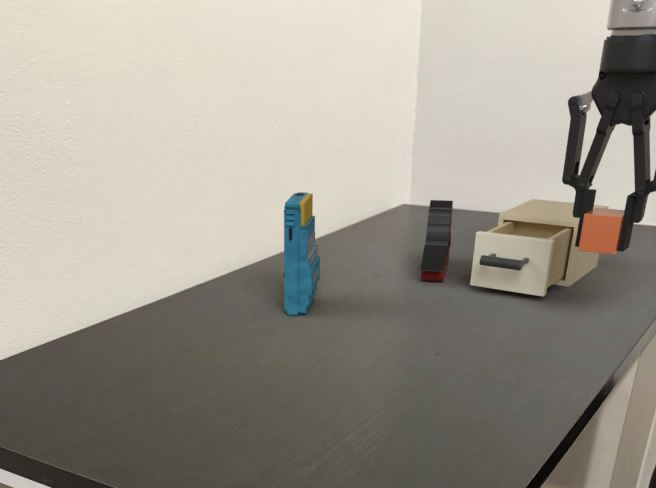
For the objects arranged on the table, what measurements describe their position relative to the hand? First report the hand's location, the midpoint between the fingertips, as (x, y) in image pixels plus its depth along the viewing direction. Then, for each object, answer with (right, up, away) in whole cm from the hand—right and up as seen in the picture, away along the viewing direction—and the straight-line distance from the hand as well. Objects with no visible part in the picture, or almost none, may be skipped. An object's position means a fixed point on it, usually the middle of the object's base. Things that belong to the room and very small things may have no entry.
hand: (601, 246), depth 101 cm
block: (0, 0, 0) cm, 0 cm away
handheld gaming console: (-38, -4, +15) cm, 41 cm away
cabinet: (+3, +6, +30) cm, 31 cm away
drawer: (-4, +1, +21) cm, 21 cm away
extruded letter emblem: (-15, +6, +31) cm, 35 cm away
